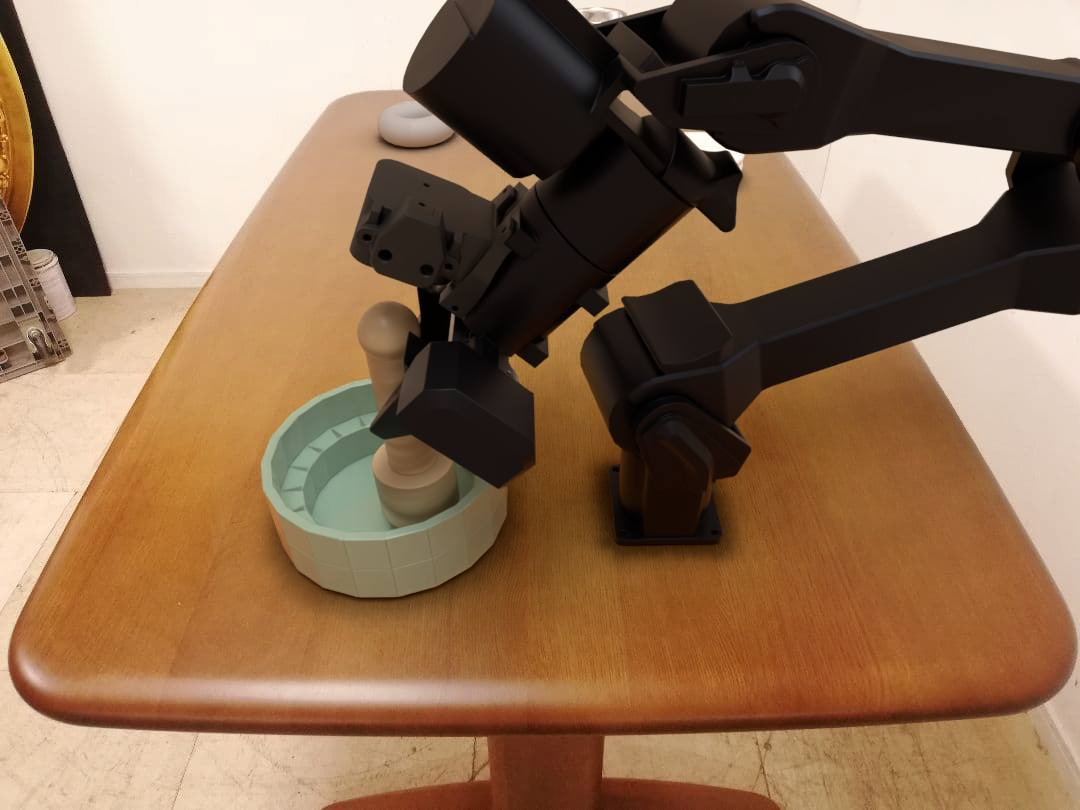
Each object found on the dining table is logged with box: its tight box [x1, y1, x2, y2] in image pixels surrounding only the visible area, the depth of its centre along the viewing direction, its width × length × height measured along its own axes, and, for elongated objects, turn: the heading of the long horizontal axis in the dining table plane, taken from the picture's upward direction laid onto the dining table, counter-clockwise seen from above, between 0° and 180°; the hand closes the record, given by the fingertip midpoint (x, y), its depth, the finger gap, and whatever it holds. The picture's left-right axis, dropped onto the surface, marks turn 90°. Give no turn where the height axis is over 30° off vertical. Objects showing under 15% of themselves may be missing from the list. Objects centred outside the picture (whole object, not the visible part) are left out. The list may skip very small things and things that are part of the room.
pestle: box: [356, 300, 460, 528], centre depth 43 cm, size 5×5×14 cm
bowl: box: [260, 377, 508, 598], centre depth 48 cm, size 14×14×6 cm
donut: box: [376, 99, 455, 148], centre depth 98 cm, size 10×4×10 cm
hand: (380, 414), depth 43 cm, fingers closed on pestle, 3 cm apart
